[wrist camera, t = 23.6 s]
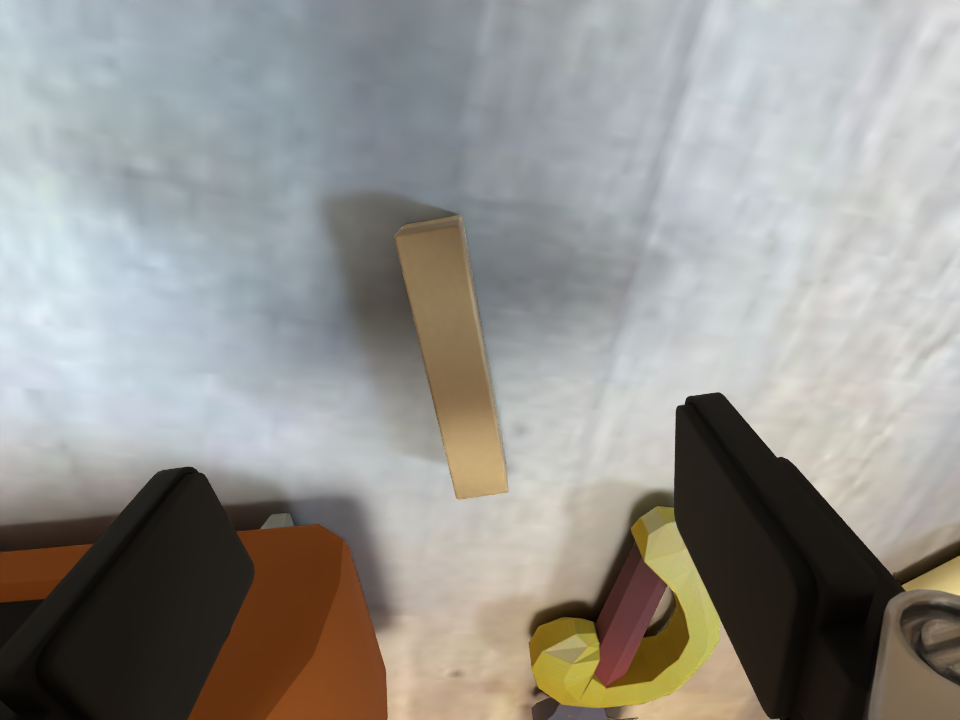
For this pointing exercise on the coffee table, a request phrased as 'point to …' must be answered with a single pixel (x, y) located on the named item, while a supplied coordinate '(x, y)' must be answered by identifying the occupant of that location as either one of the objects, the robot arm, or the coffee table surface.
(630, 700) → the knife
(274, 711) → the orange oval container
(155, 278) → the coffee table surface
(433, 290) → the wooden block
